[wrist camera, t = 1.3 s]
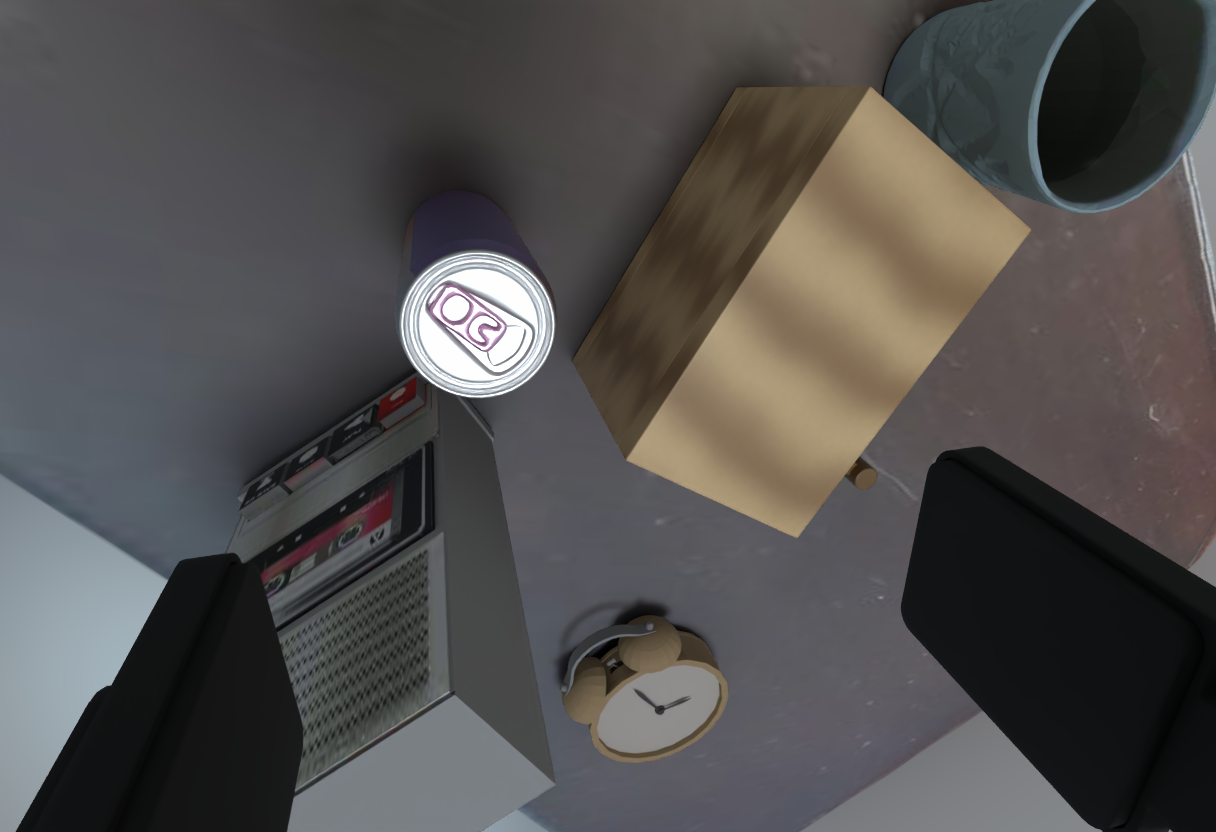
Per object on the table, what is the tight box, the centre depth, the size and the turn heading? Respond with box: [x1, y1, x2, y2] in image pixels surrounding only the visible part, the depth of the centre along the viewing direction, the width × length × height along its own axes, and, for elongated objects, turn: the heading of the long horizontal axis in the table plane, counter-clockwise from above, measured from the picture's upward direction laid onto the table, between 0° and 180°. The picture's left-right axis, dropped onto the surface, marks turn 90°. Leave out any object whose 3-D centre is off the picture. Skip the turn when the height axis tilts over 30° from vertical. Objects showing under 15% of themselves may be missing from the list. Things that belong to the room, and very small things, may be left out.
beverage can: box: [395, 191, 556, 399], centre depth 31 cm, size 6×6×15 cm
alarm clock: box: [560, 615, 728, 763], centre depth 53 cm, size 11×5×15 cm
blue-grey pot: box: [883, 0, 1216, 213], centre depth 36 cm, size 10×10×12 cm
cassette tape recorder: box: [225, 372, 556, 832], centre depth 31 cm, size 14×6×25 cm, turn 120°
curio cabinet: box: [572, 87, 1031, 538], centre depth 37 cm, size 18×12×13 cm, turn 148°
